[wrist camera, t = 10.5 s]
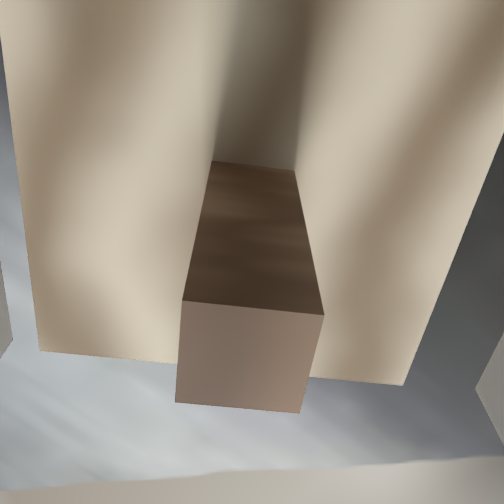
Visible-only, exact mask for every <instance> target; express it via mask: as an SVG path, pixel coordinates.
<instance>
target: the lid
mask: <svg viewBox="0 0 504 504" xmlns="http://www.w3.org/2000/svg"><path fill="white" fill-rule="evenodd" d="M0 36H1V44H2V52H3V60H4V68H5V76H6V84H7V92H8V100H9V108H10V116H11V124H12V132H13V140H14V148H15V156H16V164H17V172H18V180H19V189H20V197H21V205H22V213H23V221H24V229H25V237H26V245H27V253H28V261H29V269H30V277H31V285H32V293H33V301H34V309H35V317H36V325H37V333H38V342H39V350H40V351H47V352H58V353H68V354H79V355H89V356H100V357H110V358H120V359H131V360H141V361H152V362H162V363H173V364H177V378H176V393H175V402H178V403H189V404H200V405H211V406H222V407H233V408H244V409H255V410H266V411H277V412H288V413H300V409H301V405H302V401H303V397H304V394H305V390H306V386H307V382H308V378H309V377H319V378H329V379H340V380H350V381H361V382H371V383H381V384H392V385H402V386H403V383H404V381H405V378H406V376H407V373H408V371H409V368H410V366H411V363H412V361H413V358H414V356H415V353H416V351H417V348H418V346H419V343H420V341H421V338H422V336H423V333H424V331H425V328H426V326H427V323H428V321H429V318H430V316H431V313H432V311H433V308H434V306H435V303H436V301H437V298H438V295H439V293H440V290H441V288H442V285H443V283H444V280H445V278H446V275H447V273H448V270H449V268H450V265H451V263H452V260H453V258H454V255H455V253H456V250H457V248H458V245H459V243H460V240H461V238H462V235H463V233H464V230H465V228H466V225H467V223H468V220H469V218H470V215H471V213H472V210H473V208H474V205H475V203H476V200H477V198H478V195H479V193H480V190H481V187H482V185H483V182H484V180H485V177H486V175H487V172H488V170H489V167H490V165H491V162H492V160H493V157H494V155H495V152H496V150H497V147H498V145H499V142H500V140H501V137H502V135H503V132H504V0H0Z"/></svg>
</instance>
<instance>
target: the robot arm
mask: <svg viewBox="0 0 504 504" xmlns="http://www.w3.org/2000/svg"><path fill="white" fill-rule="evenodd" d="M12 340H13V337H12V331H11V325H10V319H9V313H8V306H7V300H6V294H5V288H4V282H3V275H2V269H1V263H0V358H1V356H2V355H3V353H4V352H5V350H6V349H7V347H8V346H9V344H10V343H11V341H12ZM475 390H476V392H477V394H478V396H479V398H480V400H481V402H482V404H483V406H484V408H485V410H486V411H487V413H488V415H489V417H490V419H491V421H492V423H493V425H494V427H495V429H496V431H497V433H498V435H499V437H500V439H501V441H502V443H503V445H504V333H503V335H502V337H501V339H500V341H499V343H498V345H497V347H496V349H495V351H494V353H493V355H492V357H491V358H490V360H489V362H488V364H487V366H486V368H485V370H484V372H483V374H482V376H481V378H480V380H479V382H478V384H477V386H476V388H475Z"/></svg>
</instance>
